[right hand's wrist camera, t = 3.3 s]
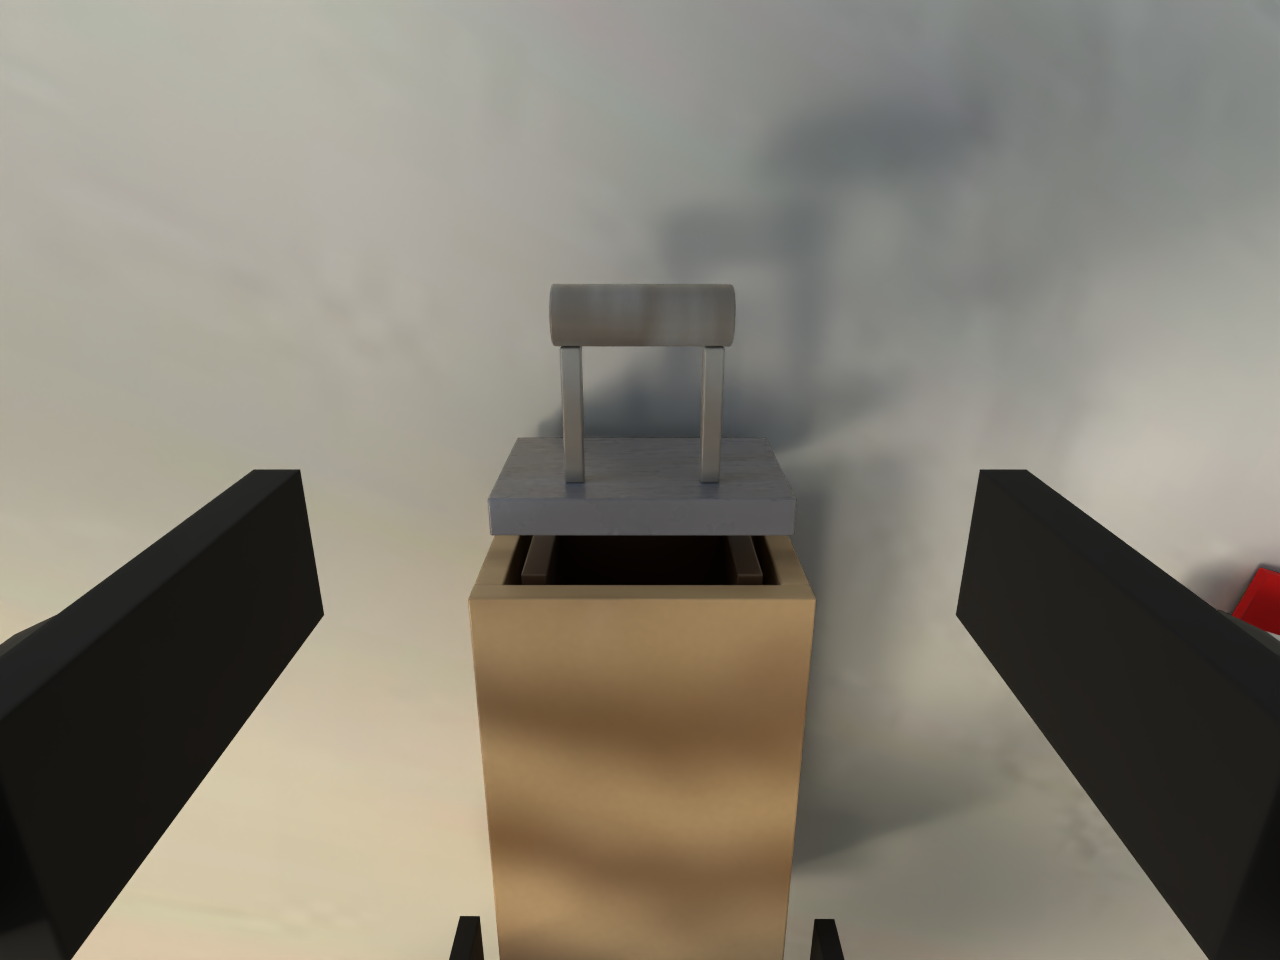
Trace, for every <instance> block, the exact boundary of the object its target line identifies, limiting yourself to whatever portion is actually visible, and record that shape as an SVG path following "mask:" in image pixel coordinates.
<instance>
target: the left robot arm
mask: <svg viewBox="0 0 1280 960" xmlns="http://www.w3.org/2000/svg"><path fill="white" fill-rule="evenodd" d="M449 960H484V954H483V944H482V935H481V925H480V916H460V919H459V923H458V927H457V931H456V935H455V938H454V942H453V946H452V950H451V954H450V958H449ZM810 960H844V956H843V952H842V948H841V944H840V940H839V936H838V932H837V928H836V924H835V920H834V919H815V920H814V929H813V937H812V946H811V955H810Z"/></svg>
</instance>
